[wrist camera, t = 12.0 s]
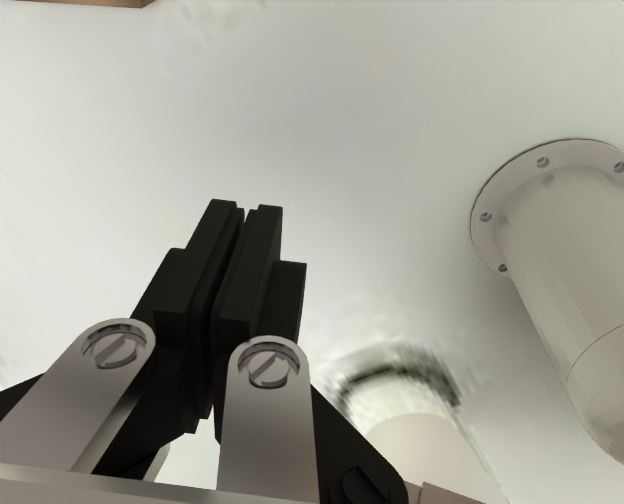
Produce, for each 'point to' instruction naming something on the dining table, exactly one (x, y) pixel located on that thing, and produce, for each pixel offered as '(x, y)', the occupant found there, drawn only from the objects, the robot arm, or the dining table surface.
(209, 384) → the robot arm
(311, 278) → the dining table surface
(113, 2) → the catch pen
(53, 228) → the dining table surface
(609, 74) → the dining table surface
